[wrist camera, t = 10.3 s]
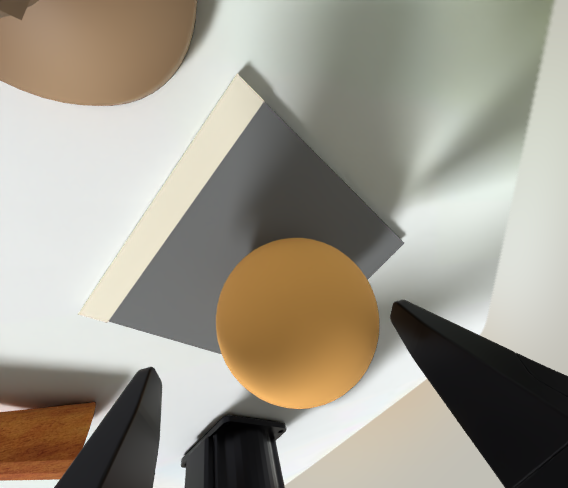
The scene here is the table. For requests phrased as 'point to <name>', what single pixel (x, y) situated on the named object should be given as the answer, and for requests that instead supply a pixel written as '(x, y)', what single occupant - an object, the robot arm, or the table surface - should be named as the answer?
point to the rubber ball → (297, 323)
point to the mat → (230, 222)
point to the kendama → (42, 440)
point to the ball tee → (93, 47)
